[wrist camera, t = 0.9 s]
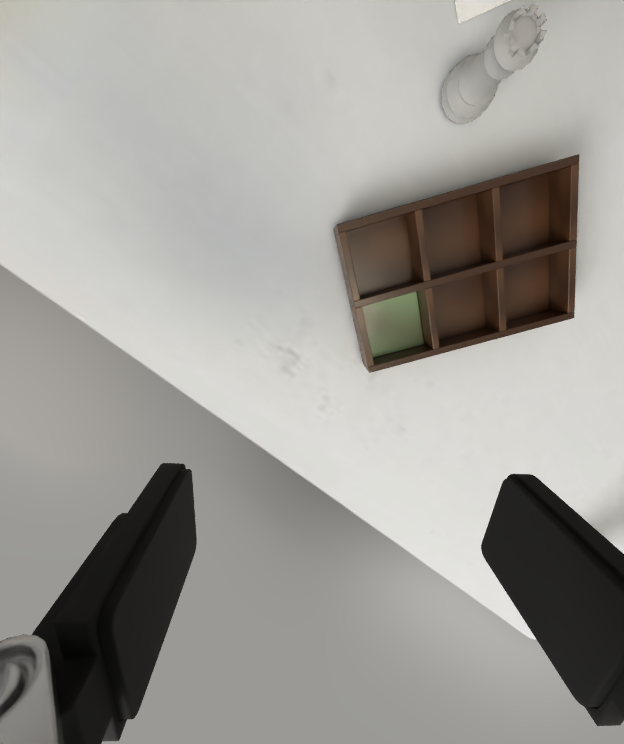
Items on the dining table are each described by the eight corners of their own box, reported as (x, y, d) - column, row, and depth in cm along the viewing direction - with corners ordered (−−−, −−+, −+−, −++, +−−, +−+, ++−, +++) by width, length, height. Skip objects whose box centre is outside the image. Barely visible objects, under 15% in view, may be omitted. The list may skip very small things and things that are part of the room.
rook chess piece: (481, 54, 26) (556, -32, 19) (492, 112, 28) (566, 54, 20) (433, 79, 27) (487, 4, 19) (446, 135, 28) (501, 86, 20)
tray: (333, 228, 30) (337, 224, 27) (551, 165, 29) (579, 153, 26) (363, 364, 35) (369, 373, 32) (550, 313, 34) (574, 317, 31)
